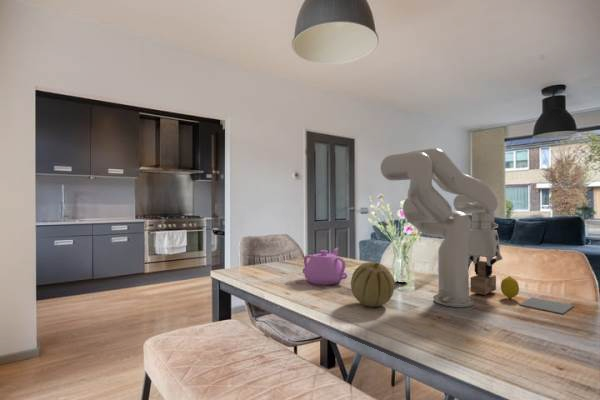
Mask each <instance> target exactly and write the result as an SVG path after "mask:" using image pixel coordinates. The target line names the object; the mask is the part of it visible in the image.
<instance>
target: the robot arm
mask: <svg viewBox="0 0 600 400" xmlns="http://www.w3.org/2000/svg"><path fill="white" fill-rule="evenodd" d="M380 173H381V174H382V176H383V177H384V178H385V179H386V180H388V181H408V180H409V181H410V183H409V187H408V190H407V198H405V200H404V202H403V205H402V212H403V215H404V218H405V219H406V220H407V222H409V224H411V226H413V227H414V228H416V229H417V230H418V231H419V232H421V234H423V235H426V236H428V237H434V238H443V241H442V242H441V244H440V246H439V247H438V258H437V259H438V294H437V293H436V294H434V295H433V300H434V302H435V303H436V304H439V305H442V306H446V307H451V308H469V307H472V306H473V305H474V303H475V301H474V300H473V298H471V297H469V296H470V295H469V288H470V287H469V286H470V285H469V283H470V282H469V281H470V280H469V278H470V277H469V259H470V261H472V262H473V263H472V264H474V272H475V276H476V275H477V274H478V265H477V262H478V261H481V260H480V259H481V258H483V257H484V258H486V261H487V265H486V276H491V275H493V265H494V264H495V263H497V262H499V261H501V260H503V256H502V255H501V253H500V252H501V249H500V248H501V247H500V239H499V234H498V230H497V229H496V228H499V224H498V223H496V222H495V212H496V211H497V208H498V198H497V195H496V194H495V193H494V191H493V190H492V189H491V188H490V187H489V185H488V184H487V183H485V182H483V181H482V180H480V179H478V178H475V177H472V175H471V176H470V175H469V174H466V173H463V172H462V171H461V170H460V168H458V166H457V165H456V164H455V163H454V162H453V160H451V158H450V157H449V155H447V153H446V152H445V151H443V150H442V149H439V148H435V147H433V148H427V149H419V150H413V151H409V152H405V153H404V152H403V153H396V154H389V155H387V156H385V157H384V158H383V160H382V162H381V164H380ZM433 182H434V183H435V184H436V185H437V186H438V187H439V188H440V189H441V191H444V192H446V193H449V194H453V195H456V196H455V197H454V199H453V203H452V204H453V207H454V209H455V210H452V205H451V204H450V203H449V202H448V200H447V199H446V198H444V196H443V195H442V194H441V193H439V192H438V190H437V189H435V187H434V186H433ZM468 214H471V217H470V216H469V215H468ZM495 229H496V230H495Z"/></svg>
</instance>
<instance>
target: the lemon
mask: <svg viewBox="0 0 600 400" xmlns="http://www.w3.org/2000/svg"><path fill="white" fill-rule="evenodd" d="M500 289H501V293H502V294H503V295H504V296H505V297H507V298H508V299H513V298H515V297H516V296H517V295H519V292H520V286H519V283H518V281H517V279H515V278H513V277H512V276H511V275H509V276H508V277H505V278H503V279H502V281H501V283H500Z"/></svg>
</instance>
